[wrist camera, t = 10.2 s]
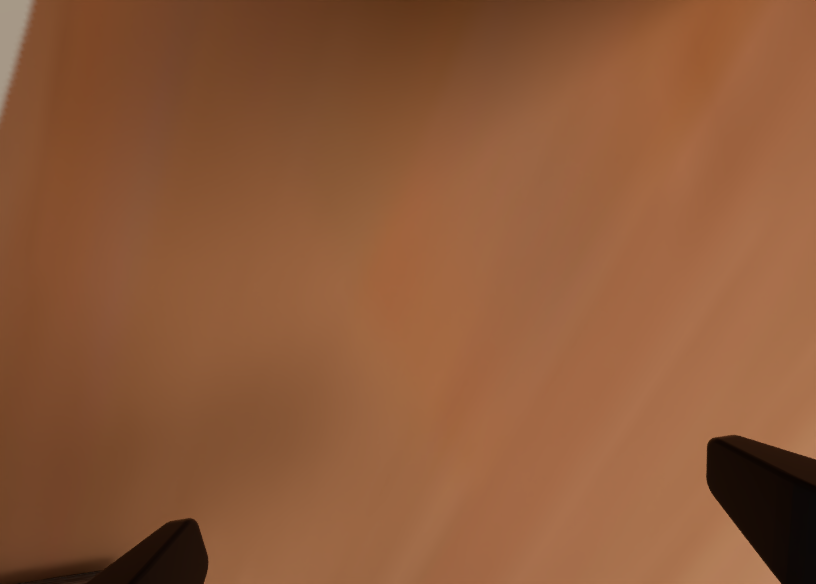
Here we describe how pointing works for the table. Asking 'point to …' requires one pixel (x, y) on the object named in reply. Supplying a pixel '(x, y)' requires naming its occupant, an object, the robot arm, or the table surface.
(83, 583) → the stand
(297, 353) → the table surface
